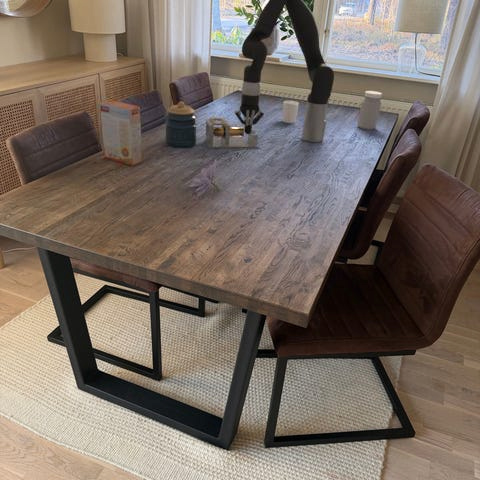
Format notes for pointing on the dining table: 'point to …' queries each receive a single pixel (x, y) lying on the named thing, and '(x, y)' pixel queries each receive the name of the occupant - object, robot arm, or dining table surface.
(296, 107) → the white cup
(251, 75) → the robot arm
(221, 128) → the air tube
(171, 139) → the canister
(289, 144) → the dining table surface
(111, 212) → the dining table surface
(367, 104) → the jar
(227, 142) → the collar stand
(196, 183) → the water lily
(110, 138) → the cracker box
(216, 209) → the dining table surface
